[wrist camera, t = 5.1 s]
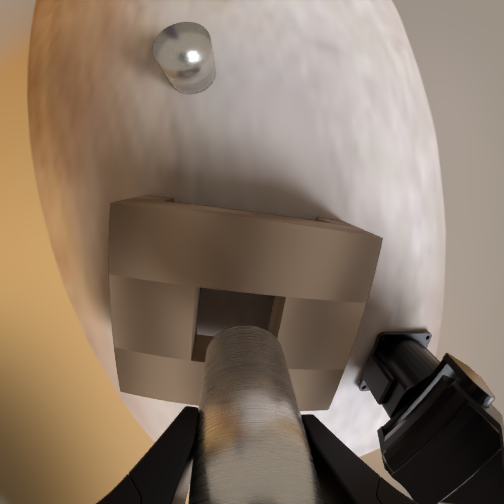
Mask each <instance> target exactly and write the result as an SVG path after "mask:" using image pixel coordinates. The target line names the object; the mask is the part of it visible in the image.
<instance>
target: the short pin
mask: <svg viewBox="0 0 504 504" xmlns="http://www.w3.org/2000/svg"><path fill="white" fill-rule="evenodd" d="M152 51H153V56H154V58H155V59H156V61H157V62H158V64H159V65H160V67H161V68H162V70H163V71H164V73H165V74H166V76H167V77H168V79H169V80H170V82H171V83H172V85H173V86H174V88H175V89H176V90H178V91H179V92H181V93H185V94H196V93H200V92H202V91H204V90H206V89H207V88H208V87H209V86H210V85H211V84H212V83H213V81H214V79H215V76H216V69H215V63H214V57H213V51H212V44H211V38H210V35H209V33H208V31H207V30H206V29H205V28H204V27H203V26H201V25H199V24H197V23H193V22H181V23H176V24H173V25H171V26H169V27H167V28H166V29H164V30H163V31H162V32H161V33H160V34H159V35H158V36H157V37H156V39H155V41H154V43H153V48H152Z"/></svg>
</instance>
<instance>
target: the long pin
mask: <svg viewBox="0 0 504 504" xmlns="http://www.w3.org/2000/svg"><path fill="white" fill-rule="evenodd" d="M189 504H325V501H324V498H323V494H322V490H321V487H320V483H319V479H318V476H317V472H316V468H315V465H314V461H313V458H312V454H311V450H310V447H309V443H308V439H307V436H306V432H305V429H304V425H303V421H302V418H301V414H300V410H299V407H298V403H297V400H296V396H295V392H294V389H293V385H292V382H291V378H290V374H289V371H288V367H287V364H286V360H285V357H284V353H283V349H282V346H281V344H280V342H279V341H278V339H277V338H276V337H275V336H274V335H273V334H271V333H270V332H268V331H267V330H265V329H262V328H259V327H256V326H248V325H243V326H235V327H231V328H228V329H226V330H224V331H222V332H220V333H219V334H217V335H216V336H215V337H214V338H213V339H212V340H211V342H210V343H209V345H208V348H207V351H206V357H205V364H204V371H203V378H202V386H201V394H200V401H199V414H198V423H197V431H196V440H195V447H194V453H193V462H192V472H191V482H190V492H189Z"/></svg>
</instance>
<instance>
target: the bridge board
mask: <svg viewBox="0 0 504 504" xmlns="http://www.w3.org/2000/svg"><path fill="white" fill-rule="evenodd" d="M382 240H383V238H381V237H379V236H376V235H374V234H372V233H369V232H367V231H365V230H363V229H360V228H358V227H355V226H353V225H351V224H348V223H346V222H343V221H338V220H333V219H327V218H320V217H317V221H312V220H305V219H299V218H292V217H285V216H278V215H271V214H264V213H257V212H249V211H242V210H234V209H226V208H217V207H209V206H200V205H191V204H182V203H173V198H167V197H156V196H141V197H136V198H131V199H127V200H122V201H117V202H113V203H110V220H109V293H110V311H111V323H112V334H113V344H114V352H115V360H116V367H117V374H118V380H119V386H120V391H121V392H125V393H129V394H134V395H138V396H143V397H148V398H153V399H159V400H164V401H170V402H176V403H183V404H190V405H198V406H199V401H200V394H201V386H202V378H203V371H204V364H205V357H206V351H207V348H208V345H209V343H210V342H211V340H212V339H213V338H214V337H213V336H205V335H197V319H198V305H199V292H200V287H201V288H209V289H217V290H226V291H235V292H244V293H253V294H262V295H272V296H274V300H273V306H272V311H271V316H270V322H269V327H268V332H270V333H271V334H273V335H274V336H275V337H276V338H277V339H278V341H279V342H280V344H281V346H282V349H283V353H284V357H285V360H286V364H287V367H288V371H289V374H290V378H291V382H292V385H293V389H294V392H295V396H296V400H297V403H298V407H299V410H300V411H314V410H328V409H329V407H330V405H331V402H332V400H333V397H334V395H335V393H336V390H337V388H338V385H339V383H340V380H341V378H342V375H343V372H344V370H345V367H346V364H347V362H348V359H349V356H350V353H351V351H352V348H353V345H354V342H355V339H356V336H357V333H358V330H359V327H360V323H361V320H362V317H363V314H364V310H365V307H366V304H367V300H368V297H369V293H370V289H371V286H372V282H373V278H374V274H375V270H376V266H377V262H378V258H379V253H380V249H381V244H382Z"/></svg>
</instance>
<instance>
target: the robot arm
mask: <svg viewBox="0 0 504 504" xmlns="http://www.w3.org/2000/svg"><path fill="white" fill-rule="evenodd" d="M431 336H432V335H431V333H430V332H428V331H424V332H382V333H380V334H379V335H378V337H377V340H376V343H375V345H374V348H373V351H372V353H371V356H370V358H369V360H368V363H367V365H366V368H365V370H364V372H363V375H362V378H361V380H360V383H359V385H358V387H359V389H360V391H369V390H370V391H371V393H372V395H373V396H374V398H375V400H376V401H377V403H378V404H379V405H381V404H382V406H383V407H384V409H385V411H386V412H387V414H388V416H389V417H390V418H391V419H390V420H389V421H388V422H387V423H386V424H385V425H384V426H381V427H380V428H379V429H378V430H377V432H378V437H379V442H380V448H381V453H382V459H383V463H384V467H385V469H386V470H387V471H388V473H389V474H390V475H391V477H392V478H394V479H395V480H396V481H398V482H399V483H400V484H401V485H402V486H403V487H404V488H405V489H406V490H407V491H408V493H409V494H410V496H411V497H412V499H413V500H414V501H413V500H411V499H410V498H409V497H407V496H405V495H404V494H402V493H401V492H399V491H398V490H397V489H395V488H394V487H393V486H391V485H390V484H389V483H388V482H387V481H385V480H384V479H383V478H382V477H380V476H379V475H378V474H377V473H376V472H375V471H374V470H372V469H371V468H370V467H369V466H368V465H367V464H365V463H364V462H363V461H362V460H361V459H360V458H359V457H358V456H357V455H355V454H354V453H353V452H352V451H351V450H350V449H349V448H348V447H347V446H346V445H345V444H344V443H342V442H341V441H340V440H339V439H338V438H337V437H336V436H335V435H334V434H333V433H332V432H331V431H330V430H329V429H328V428H327V427H326V426H325V425H324V424H322V423H321V422H320V421H319V420H318V419H317V418H316V417H315V416H314V415H312V414H307V415H301V418H302V421H303V425H304V429H305V432H306V436H307V439H308V443H309V447H310V450H311V454H312V458H313V461H314V465H315V468H316V472H317V476H318V479H319V483H320V487H321V490H322V494H323V498H324V501H325V504H438V503H444V504H504V424H503V418H502V415H501V414H500V412H499V411H498V410H496V408H495V407H494V406H493V405H492V404H491V403H492V402H493V401H494V399H495V396H494V395H493V393H492V392H491V391H490V389H489V388H488V386H487V385H486V383H485V382H484V381H483V379H482V378H481V377H479V375H478V374H476V373H475V372H474V371H473V370H472V369H470V367H468V366H467V365H466V364H464V363H463V362H461V361H459V360H458V359H456V358H455V357H453V356H451V355H450V354H448V353H446V354H445V356H444V357H443V360H442V361H441V362H440V361H439V360H437V358H436V357H435V356H434V355H433V354H432V353H431V352H430V351H429V350H428V349H427V346H428V344H429V342H430V339H431ZM383 337H384V338H383ZM382 338H383V339H382ZM198 414H199V409H198V408H197V407H190V406H186V407H185V408H184V409H183V410H182V411H181V412H180V414H179V415H178V416H177V417H176V418H175V420H174V421H173V422H172V423H171V424H170V426H169V427H168V428H167V429H166V430H165V432H164V433H163V434H162V435H161V436H160V438H159V439H158V440H157V441H156V442H155V443H154V445H153V446H152V447H151V448H150V449H149V450H148V452H147V453H146V454H145V455H144V456H143V457H142V458H141V460H140V461H139V462H138V463H137V464H136V465H135V466H134V467H133V469H132V470H131V471H130V472H129V474H127V475H126V477H124V479H123V480H122V481H121V482H120V483H119V484H118V485H117V486H116V487H115V488H114V489H113V490H112V491H111V492H110V493H108V494H107V495H106V496H105V497H104V498H102V499H101V500H100V501H99V502H97V503H96V504H185V501H186V497H187V493H188V489H189V485H190V481H191V472H192V462H193V453H194V447H195V440H196V431H197V423H198Z"/></svg>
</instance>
